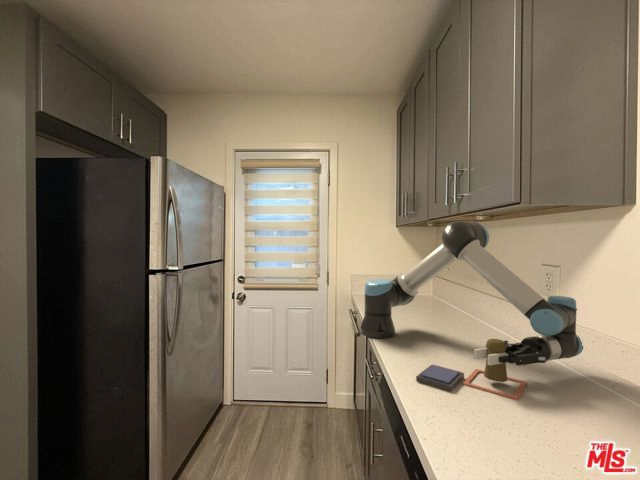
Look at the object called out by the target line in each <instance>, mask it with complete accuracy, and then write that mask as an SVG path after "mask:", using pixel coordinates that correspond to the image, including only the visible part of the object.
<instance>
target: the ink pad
mask: <svg viewBox="0 0 640 480" xmlns="http://www.w3.org/2000/svg"><path fill="white" fill-rule="evenodd" d="M464 379H465V372H462V371H460V370H457V369H456V370H454V369H451V368H448V367H443V366H440V365H436V364H431V365H429V366H427V367H426V368H425V369H424V370H423V371H421V372H420V373H418V374H417V375H416V377H415V382H418V383H421V384H425V385H426V386H431V387H435V388H437V389H441V390H444V391H447V392H450V393H451V392H452V391H453V390H454V389H455V388H456V387H457V386H458V385H459V384H460V383H461V382H462V381H464Z"/></svg>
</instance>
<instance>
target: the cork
mask: <svg viewBox="0 0 640 480" xmlns="http://www.w3.org/2000/svg"><path fill="white" fill-rule="evenodd" d="M504 341H505V340H503V339H499V338H489V339H487V340H486V344H485V347H486V346H487V349H488V355H490V354H497V353H504V352H505V351H506V344H505V342H504ZM488 355H487V358H486V361H485V368H484V371H485V372H484V373H483V375H484V378H486V379H488V380H490V381H494V382H499V383H501V382H502V383H505V382H507V381H508V380H507V377H508V373H507V372H508V371H507V363H502V364H495V365H488V364H487V361H488Z"/></svg>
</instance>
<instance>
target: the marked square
mask: <svg viewBox="0 0 640 480" xmlns="http://www.w3.org/2000/svg"><path fill="white" fill-rule="evenodd" d="M484 372H485V370H482V369H478V368H475V369H474V370H473V371H472V372H471V374H470V375H468V377H467V378H466V379H465V380H463V382H462V385H463V386H467V387H470V388H473V389H477V390H481V391H484V392H488V393H490V394H494V395H497V396H501V397H505V398H509V399H512V400H515V401H519V399H520V398H521V396H522V394H523V392H524V389H525V387H526V385H527V383H528V382H527V381H526V380H522V379H518V378H513V377H510V376H507V381H508V380H509V381H512V382H515V383H519V386H518V387H517V389H516V391H515V393H514V395H512V394H509V393H506V392H502V391H498V390H495V389H491V388H487V387H483V386H480V385H476V384H473V383H471V382H472V381H473V379H474V378H475V377H476V376H477V375H479V373H481V374H484ZM471 380H472V381H471ZM470 381H471V382H470Z"/></svg>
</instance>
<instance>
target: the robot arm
mask: <svg viewBox="0 0 640 480" xmlns="http://www.w3.org/2000/svg"><path fill="white" fill-rule="evenodd" d="M489 239H490V234H489V231H488V229H487V228H486V227H485V226H484V225H483V224H481V223H479V222H476V221H466V220H465V221H464V220H454V221H452V222H450V223H448V224H447V225H445V227H444V228H443V230H442V233H441V241H442V243H441V244H440V245H439V246H438V247H437V248H436V249H434V250H433V251H432V252H431V253H429V254H428V255H427V256H426V257H425V258H423V259H422V260H421V261H420V262H418V263H416V265H415V266H414V267H412V268H410V269H409V271H407V272H406V273H399V274H398V275H397V276H396V277H395V278H394V279H391V280H390V279H389V278H374V279H370V280H367V281H366V282H365V284H364V286H365V287H364V315H363V318H362V321H361V324H360V329H359V330H360V331H359V332H360V334H361V335H362V336H364V337H369V338H372V339H373V338H374V339H390V338H393V337H394V336H396V328H395V324H394V321H393V318H392V308H395V307H399V306H406V305H408V304H410V303H411V302H413V300H414V299H415V297H416V295H418V293H419V289H421V287H423V286H424V285H426V284H427V283H429V282H430V281H431V280H432V279H434V278H435V277H436V276H438V275H439V274H441V273H442V272H443V271H444V270H446V269H447V268H449V267H450V266H451V265H453V264H454V263H456V262H457V260H458V261H461V262H462V261H464V263H465V264H467V266H469V267H470V268H471V269H472V270H473V271H474V272H476V273H477V274H478V275H479V276H480V277H481V278H482V279H483V280H485V281H486V282H487V283H488V284H489V285H490V286H491V287H493V288H494V289H495V291H497V292H498V293H499V294H500V295H501V296H502V297H503V298H504V299H506V300H507V301H508V302H509V303H510V304H511V305H512V306H513V307H515V309H517V310H518V311H519V312H520V313H522V315H523V316H525V317H526V318H527V319H528V320H529V323H530V324H529V325H530V326H531V328H532V330H533V331H534V332H536V333H537V334H539V335H535V336H527V337H524V338H523V339H522V340H521V341H520V342H516V343H515V342H514V343H510V342H509V341H508V340H503V341H504V342H505V344H506V351H505V352H504V353H497V354H490V355H488V349H487V346H486V345H485V347H483V348H476V349H475V348H474V350H473V351H474V354H473V359H474V360H481V359H487V355H488V361H487V360H486V361H487V364H488V365H495V364H502V363H505V364H507V363H508V364H514V363H515V364H514V365H516V366H518V367H519V366H525V365H527V366H528V365H532V364H546V363H547V362H548V361H549V362H550V361H554V360H561V359H570V358H574V357H577V356H579V355H580V353H581V354H582V352H583V351H584V345H583V346H582V343H583V341H582V339H581V337H580V336H578V334H577V311H578V308H577V301H576V299H575V298H573V297H571V296H570V297H569V296H563V295H562V296H561V295H550V296H548V298H547V300H546V299H545V298H544V297H543V296H542V295H540V294H539V293H538V292H537V291H535V290H534V289H533V288H532V287H531V286H529V284H527V283H526V282H525V281H523V280H522V279H521V278H520V277H519V276H518V275H517V274H515V273H514V272H513V271H512V270H511V269H510V268H508V267H507V266H506V265H505V264H503V263H502V262H501V261H500V260H498V259H497V258H496V257H495V256H494V255H493V254H492V253H490V252H489V251H487V249H486V247H487V246H488V244H489V241H490V240H489ZM580 339H581V340H580ZM581 341H582V342H581ZM582 350H583V351H582Z"/></svg>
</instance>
